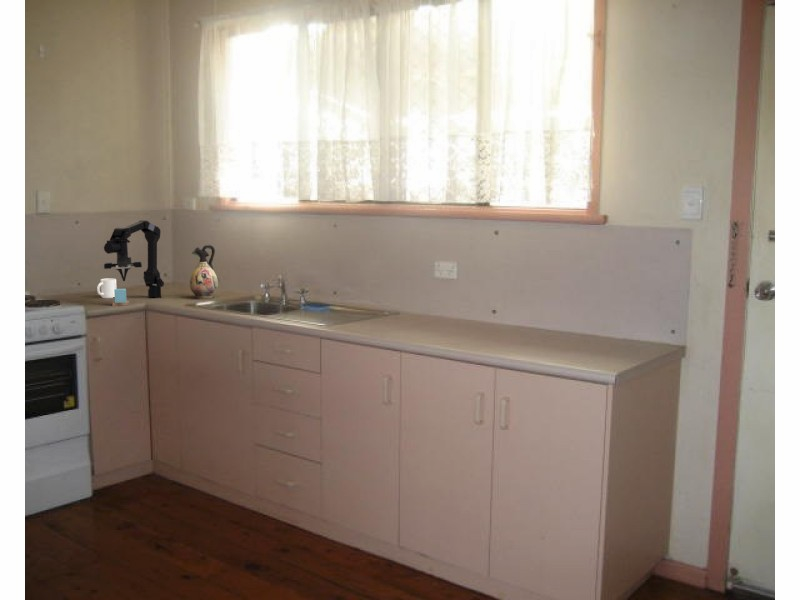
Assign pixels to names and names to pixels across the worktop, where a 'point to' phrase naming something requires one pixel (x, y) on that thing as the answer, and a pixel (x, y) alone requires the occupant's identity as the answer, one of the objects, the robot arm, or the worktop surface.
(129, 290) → the worktop surface
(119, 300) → the light blue block
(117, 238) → the robot arm
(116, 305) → the stand
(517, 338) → the worktop surface
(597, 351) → the worktop surface
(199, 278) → the ceramic jug
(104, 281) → the mug
